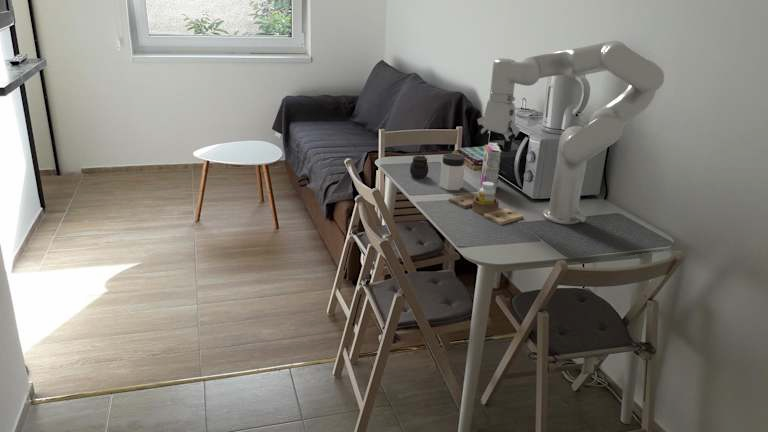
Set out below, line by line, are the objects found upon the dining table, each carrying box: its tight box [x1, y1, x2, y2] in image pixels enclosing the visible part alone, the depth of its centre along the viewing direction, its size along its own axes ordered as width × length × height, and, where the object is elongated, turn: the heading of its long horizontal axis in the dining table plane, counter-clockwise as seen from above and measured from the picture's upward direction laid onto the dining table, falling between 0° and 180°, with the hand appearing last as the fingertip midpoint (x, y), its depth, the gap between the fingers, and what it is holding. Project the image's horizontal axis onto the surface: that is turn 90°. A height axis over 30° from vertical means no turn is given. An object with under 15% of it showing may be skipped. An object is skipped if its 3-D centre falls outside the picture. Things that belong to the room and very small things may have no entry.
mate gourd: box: [409, 150, 429, 179], centre depth 248 cm, size 7×8×10 cm
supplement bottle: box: [478, 182, 496, 204], centre depth 219 cm, size 5×5×10 cm
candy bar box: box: [480, 142, 502, 194], centre depth 239 cm, size 11×5×16 cm, turn 179°
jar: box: [438, 153, 466, 191], centre depth 238 cm, size 9×8×12 cm
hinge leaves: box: [448, 192, 524, 226], centre depth 220 cm, size 25×11×4 cm, turn 39°
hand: (495, 148), depth 215 cm, fingers open, 9 cm apart
